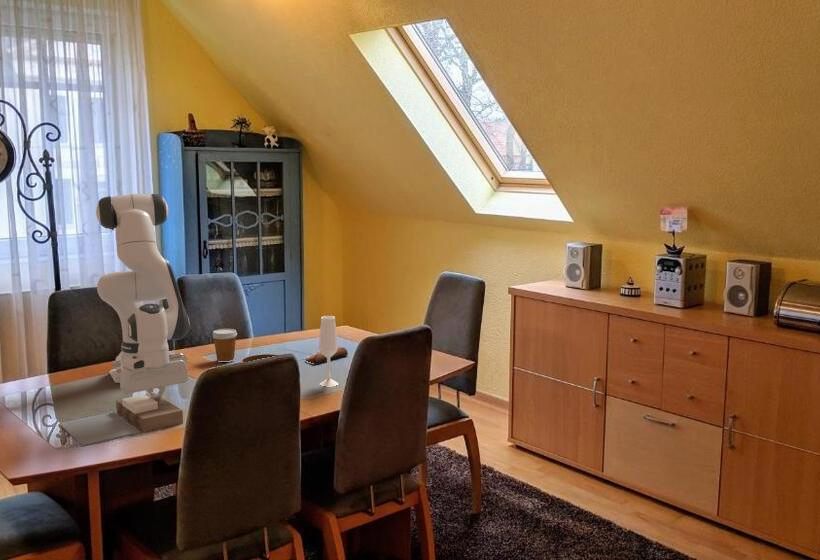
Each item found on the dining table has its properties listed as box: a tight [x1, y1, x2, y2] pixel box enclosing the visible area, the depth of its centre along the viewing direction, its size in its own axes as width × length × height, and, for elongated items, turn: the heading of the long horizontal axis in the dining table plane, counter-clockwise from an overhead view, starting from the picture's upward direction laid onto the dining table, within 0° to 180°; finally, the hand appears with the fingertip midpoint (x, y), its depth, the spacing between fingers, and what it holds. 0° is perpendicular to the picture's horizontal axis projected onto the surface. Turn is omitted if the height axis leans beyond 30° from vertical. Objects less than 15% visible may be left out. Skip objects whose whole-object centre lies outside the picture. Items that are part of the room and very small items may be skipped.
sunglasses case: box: [305, 346, 349, 365], centre depth 298 cm, size 18×7×7 cm
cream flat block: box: [122, 394, 158, 414], centre depth 228 cm, size 10×7×2 cm
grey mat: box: [58, 411, 141, 447], centre depth 221 cm, size 22×16×1 cm
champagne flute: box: [318, 315, 339, 388], centre depth 264 cm, size 7×7×24 cm
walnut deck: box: [115, 392, 184, 433], centre depth 230 cm, size 22×12×4 cm, turn 40°
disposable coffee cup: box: [211, 328, 238, 361], centre depth 294 cm, size 10×10×12 cm
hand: (156, 401), depth 231 cm, fingers closed
